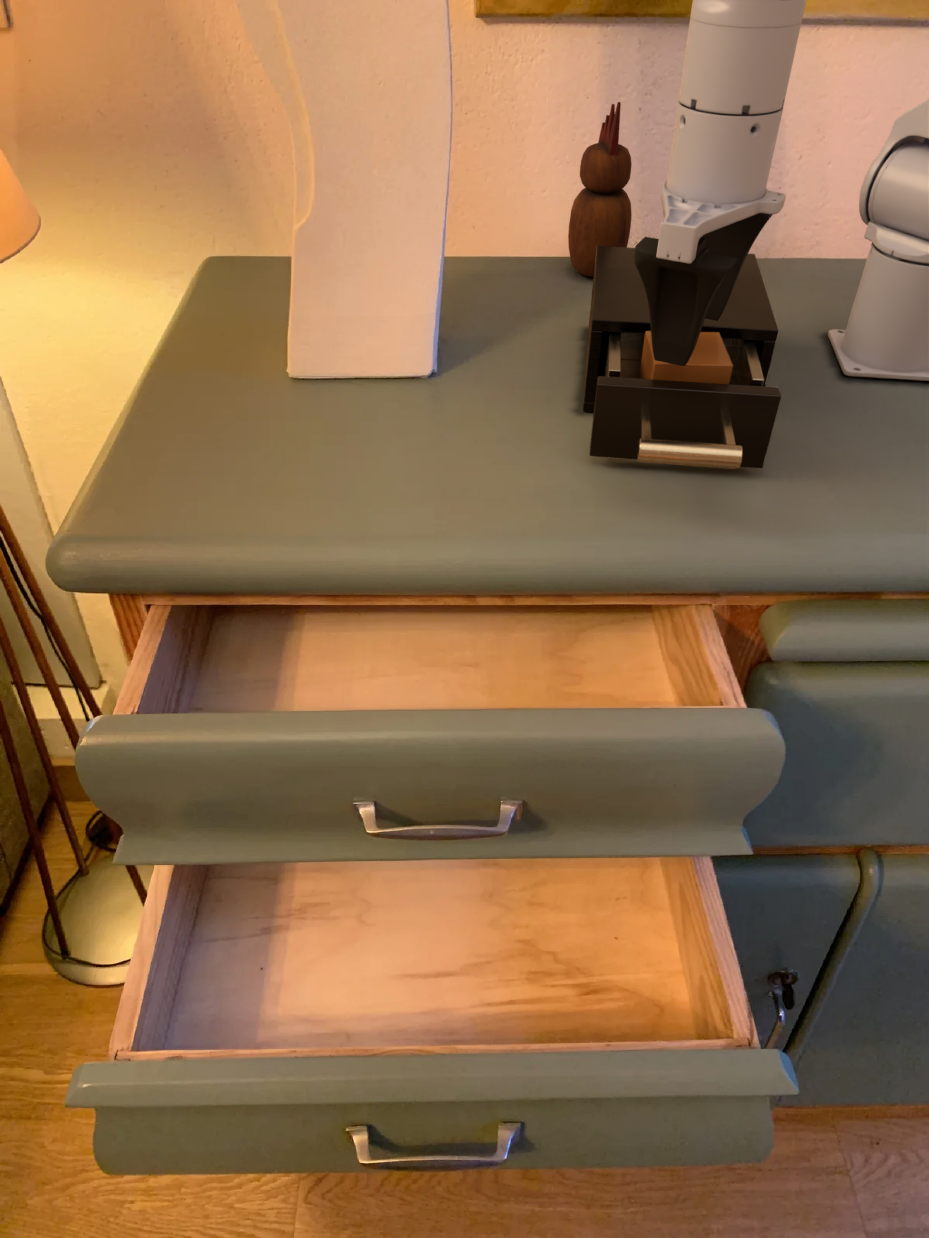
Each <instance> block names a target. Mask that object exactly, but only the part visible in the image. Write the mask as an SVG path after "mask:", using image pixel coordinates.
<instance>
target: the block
mask: <svg viewBox="0 0 929 1238" xmlns="http://www.w3.org/2000/svg"><path fill="white" fill-rule="evenodd" d="M732 368H733V364H732V362H731V360H730V357H729V355H728V352H727V350H726V348H725V345H724V343H723V340H722V338H721V336H720V333H719V332H700V335H699V338H698V341H697V344H696V346H695V349H694V351H693V353H692V355H691V357H690V359H689V361H688V363H687V364H686V365H685V366H679V365H675V364H670V363H666V362H661V361H656V360H655V359H654V355H653V348H652V338H651V331H646V332H645V338H644V345H643V352H642V359H641V366H640V373H639V379H653V380H668V381H684V382H700V383H715V384H729V382H730V377H731V373H732Z"/></svg>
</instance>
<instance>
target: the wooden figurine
mask: <svg viewBox="0 0 929 1238" xmlns="http://www.w3.org/2000/svg"><path fill="white" fill-rule="evenodd" d="M615 105H616V107H615ZM621 106H622V103H621V101H617V104H615V103H611V106H610V110H609V114H606V116H605V120H604V122H601V128H600V132H599V136H598V137H599V138H598V142H595V143H593V144H590V145H589V146H587V147H586V149H585V150H584V151H583V153H582V155H581V160H580V167H579V179H580V181H581V184H582V185H583V187H584V188H582V189H581V190H580V191H579V193H578V194H577V195H576V197H574V199H573V201H572V202H573V203H572V206H571V209H570V215H569V222H568V223H569V224H568V234H567V235H568V236H567V242H568V244H567V245H568V252H569V258H570V263H571V267H573V269H574V270H575V271H576V272H577V273H578V274H580V275H581V276H584V277H590V278H594V268H595V258H596V248H597V246H605V247H625V248H628V245H629V240H630V235H631V227H632V215H633V214H632V202H631V199H630V197H629V195H628V193H627V191H625V189H624V188H625V187H626V186H627V185H628V183H629V181H630V180H631V174H632V156H631V153H630V151H629V149H628V148H627V147H626V146H624V145H622V144H620V143H619V139H620V124H621Z"/></svg>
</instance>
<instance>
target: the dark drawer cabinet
mask: <svg viewBox="0 0 929 1238" xmlns="http://www.w3.org/2000/svg"><path fill="white" fill-rule="evenodd" d="M634 253H635V247H627V248H625V247H605V246H597V248H596V258H595V268H594V277H592V278H593V279H592V287H591V288H592V289H591V290H592V291H591V298H590V308H589V319H588V330H587V344H586V356H585V357H586V359H585V372H584V373H585V374H584V390H583V403H582V404H583V405H582V412H583V413H594V406H595V398H596V389H597V380H598V376H603V362H604V354H605V345H606V336H607V331H609V332H626V333H643V334H645V332H646V331H651V324H650V314H649V306H648V300H647V296H646V292H645V288H644V285H643V282H642V279H641V277H640V274H639V272H638V270H637V268H636V266H635V262H634ZM779 331H780V330H779V328H778V324H777V320H776V317H775V314H774V312H773V308H772V305H771V302H770V299H769V295H768V292H767V289H766V285H765V283H764V279H763V277H762V273H761V270H760V266H759V263H758V259H757V257H756V254H755V253H748V254H747V256H746V259H745V261H744V263H743V265H742V267H741V270H740V272H739V275H738V277H737V280H736V282H735V285H734V288H733V290H732V293H731V295H730V298H729V300H728V303H727V305H726V307H725V309H724V311H723V313H722V315H721V317H720V318H719V320H718V321H716V320H711V319H705V320H704V323H703V326H702V329H701V332H719V333H720V336H721V338H728V339H744V340H754V342H755V346H756V350H757V354H758V358H759V362H760V365H761V369H762V373H763V377H764V384H763V387H766V384H767V379H768V375H769V370H770V367H771V364H772V359H773V355H774V351H775V347H776V343H777V339H778V335H779Z"/></svg>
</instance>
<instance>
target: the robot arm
mask: <svg viewBox="0 0 929 1238" xmlns="http://www.w3.org/2000/svg"><path fill="white" fill-rule="evenodd" d="M806 3H807V0H692V2H691V9H690V17H689V25H688V32H687V37H686V43H685V44H686V45H685V52H684V58H683V65H682V73H681V80H680V85H679V86H680V87H679V94H678V101H677V107H676V113H675V114H676V115H675V121H674V127H673V128H674V129H673V135H672V142H671V149H670V154H669V155H670V156H669V162H668V170H667V178H666V180H665V181H664V182H663V184H662V188H661V193H660V194H661V195H660V200H661V201H660V202H661V209H662V217H663V220H662V221H661V222H660V227H659V234H658V238H655V237H649V236H644V237H643V238H642V239H641V240H640V241H639V242H637V243H636V244H635V247H634V248H635V253H634V262H635V266H636V268H637V270H638V272H639V274H640V277H641V279H642V282H643V285H644V288H645V292H646V296H647V300H648V306H649V314H650V324H651V338H652V348H653V355H654V359H655V360H656V361H661V362H666V363H670V364H675V365H679V366H685V365H686V364H687V363H688V361H689V359H690V357H691V355H692V353H693V351H694V349H695V346H696V344H697V341H698V338H699V335H700V332H701V329H702V326H703V323H704V320H705V319H711V320H716V321H718V320H719V318H720V317H721V315H722V313H723V311H724V309H725V307H726V305H727V303H728V300H729V298H730V295H731V293H732V290H733V288H734V285H735V282H736V280H737V277H738V275H739V272H740V270H741V267H742V265H743V263H744V261H745V259H746V256H747V254H749V253H750V250H751V249H752V246H753V245H754V243H755V241H756V239H758V236H759V235H760V233H761V232H762V230H763V229H764V227H765V226H766V225H767V223H768V221H769V220H770V219H771V218H772V217H773V216H774V215H777V214H779V213H780V212H781V210H782V209H783V208H784V207H785V202H786V198H787V197H786V194H785V193H783V192H779V191H773V190H769V189H768V188H767V185H768V181H769V177H770V172H771V168H772V167H771V166H772V162H773V157H774V153H775V148H776V144H777V140H778V136H779V135H778V134H779V129H780V124H781V120H782V115H783V112H784V105H785V100H786V98H787V97H786V96H787V92H788V86H789V82H790V78H791V73H792V70H793V69H792V68H793V64H794V60H795V55H796V50H797V45H798V40H799V36H800V31H801V26H802V22H803V17H804V14H805V8H806ZM858 209H859V210H858V211H859V216H860V220H861V221H862V222H863V223H864V224H865V225H866V230H865V232H864V233H865V234H864V237H863V238H864V239H866V240H868V241H869V242H871V244H870V247H869V250H868V255H867V257H866V261H865V263H864V267H863V270H862V274H861V277H860V281H859V284H858V287H857V290H856V294H855V296H854V300H853V304H852V306H851V311H850V314H849V316H848V320H847V323H846V327H845V329H836V328H835V329H834V328H833V329H829V330H828V332H827V336H828V339H829V341H830V343H831V346H832V348H833V351H834V353H835V356H836V359H837V361H838V364H839V366H840V369H841V371H842V373H843V375H845V376H848V377H857V378H873V379H875V378H876V379H890V380H905V381H906V380H908V381H924V382H929V98H928V99H926V100H924V101H923V102H921V103H920V104H918V105H916V106H914V107H913V108H911V109H909V110H907V111H905V112H904V113H902V114H901V115H899V116H898V117H897V118H895V119H894V121H893V124H892V126H891V129H890V132H889V135H888V137H887V138H886V141H885V142H884V145H883V146H882V147H881V149H880V151H879V153H878V154H877V156H876V157H875V158H874V160H873V161H872V163H871V164H870V165H869V167H868V169H867V171H866V174H865V175H864V177H863V181H862V183H861V186H860V190H859V198H858Z"/></svg>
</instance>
